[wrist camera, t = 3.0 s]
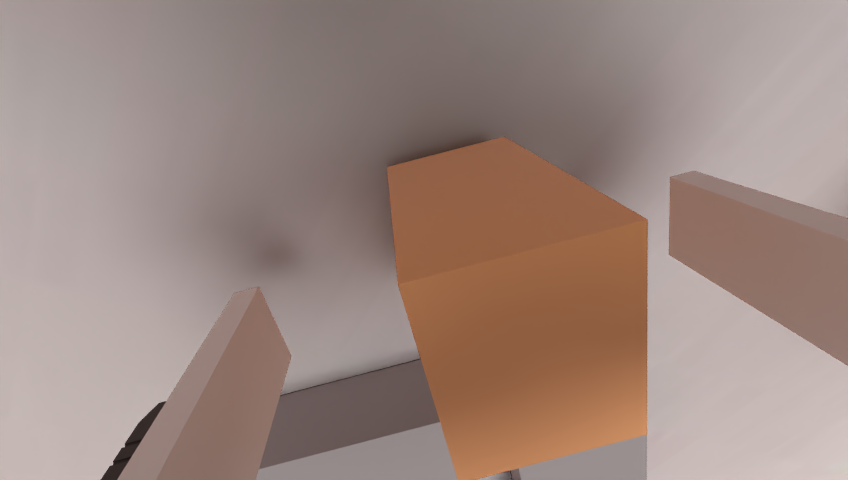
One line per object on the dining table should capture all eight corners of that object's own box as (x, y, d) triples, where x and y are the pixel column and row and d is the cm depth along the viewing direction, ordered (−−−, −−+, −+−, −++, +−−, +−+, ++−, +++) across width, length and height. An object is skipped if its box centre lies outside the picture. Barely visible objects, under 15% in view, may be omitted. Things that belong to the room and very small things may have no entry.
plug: (385, 158, 16) (398, 284, 7) (493, 130, 16) (647, 219, 7) (418, 273, 18) (458, 484, 9) (511, 248, 18) (647, 434, 9)
